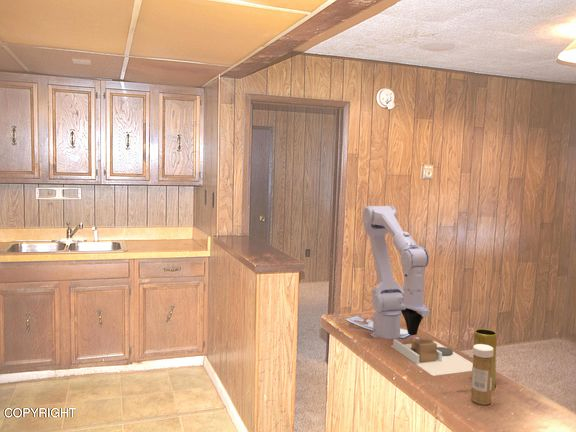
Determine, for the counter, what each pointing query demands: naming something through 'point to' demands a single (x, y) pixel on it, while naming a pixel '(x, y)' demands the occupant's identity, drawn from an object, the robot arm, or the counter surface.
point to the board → (445, 364)
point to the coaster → (445, 351)
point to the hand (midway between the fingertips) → (412, 334)
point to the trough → (411, 351)
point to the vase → (489, 339)
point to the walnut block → (424, 349)
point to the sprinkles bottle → (482, 374)
